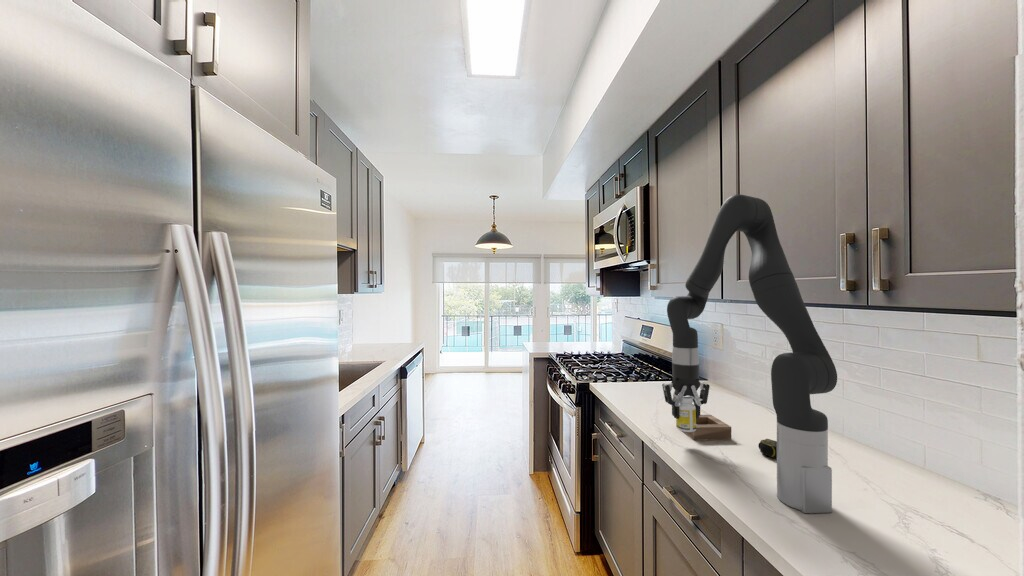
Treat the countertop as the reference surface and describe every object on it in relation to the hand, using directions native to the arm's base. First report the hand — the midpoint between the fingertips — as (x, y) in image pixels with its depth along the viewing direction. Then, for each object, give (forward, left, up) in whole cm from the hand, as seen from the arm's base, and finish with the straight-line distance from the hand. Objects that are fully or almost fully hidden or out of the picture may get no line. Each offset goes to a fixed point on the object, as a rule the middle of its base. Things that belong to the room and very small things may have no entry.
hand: (686, 417), depth 121 cm
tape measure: (-8, -21, -9) cm, 25 cm away
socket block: (+9, -10, -8) cm, 16 cm away
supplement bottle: (0, 0, -4) cm, 4 cm away
